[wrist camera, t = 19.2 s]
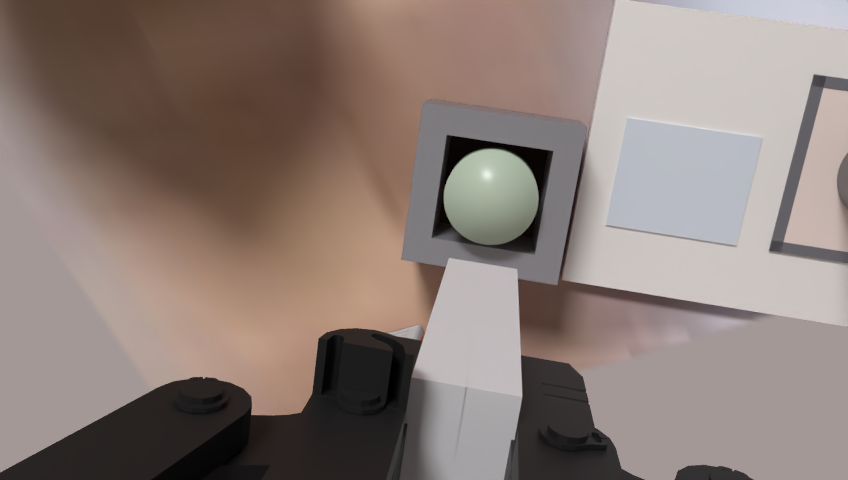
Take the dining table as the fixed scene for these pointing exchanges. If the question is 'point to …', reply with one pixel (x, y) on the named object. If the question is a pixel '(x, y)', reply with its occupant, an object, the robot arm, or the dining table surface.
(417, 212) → the button housing
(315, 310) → the dining table surface
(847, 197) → the grey and orange bottle
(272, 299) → the dining table surface
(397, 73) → the dining table surface
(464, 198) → the button
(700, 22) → the board
